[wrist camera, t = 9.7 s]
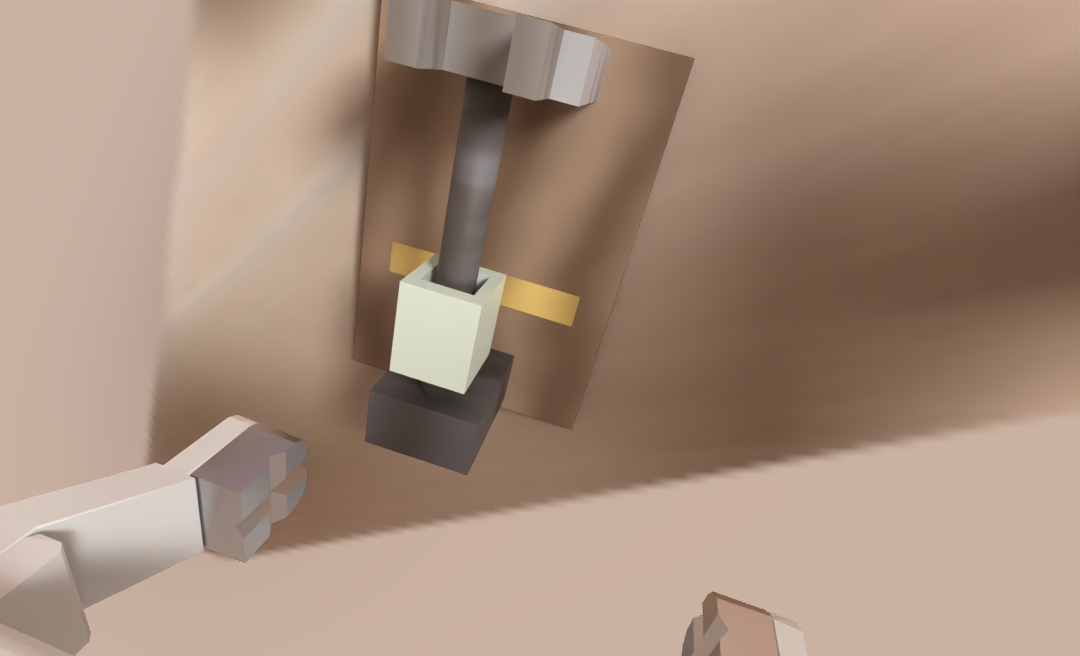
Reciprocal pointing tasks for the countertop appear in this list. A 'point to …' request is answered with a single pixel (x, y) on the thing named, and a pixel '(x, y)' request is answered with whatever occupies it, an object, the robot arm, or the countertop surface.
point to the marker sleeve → (444, 327)
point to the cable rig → (504, 203)
